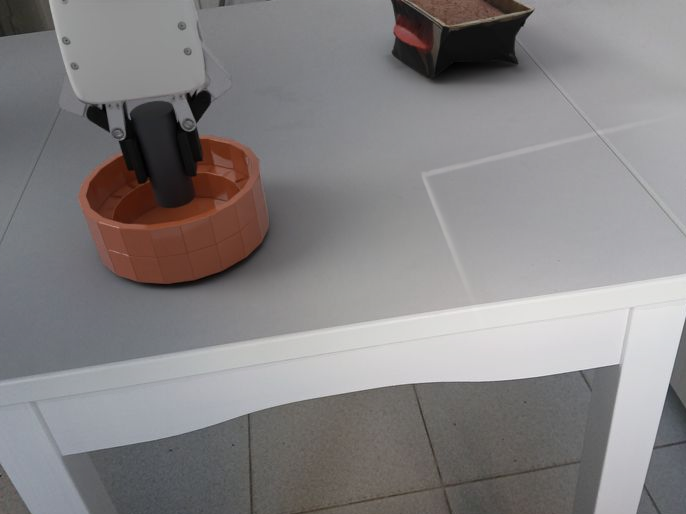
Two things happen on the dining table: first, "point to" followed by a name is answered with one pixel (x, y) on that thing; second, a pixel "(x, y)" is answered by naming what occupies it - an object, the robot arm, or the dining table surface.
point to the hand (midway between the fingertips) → (168, 170)
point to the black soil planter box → (456, 32)
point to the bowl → (178, 217)
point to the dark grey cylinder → (162, 153)
